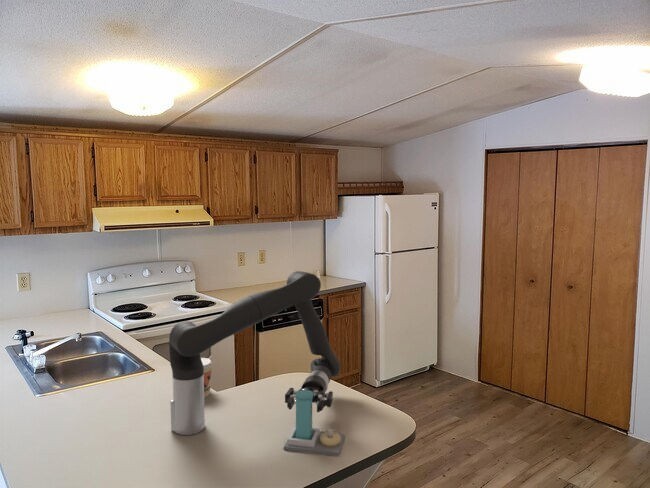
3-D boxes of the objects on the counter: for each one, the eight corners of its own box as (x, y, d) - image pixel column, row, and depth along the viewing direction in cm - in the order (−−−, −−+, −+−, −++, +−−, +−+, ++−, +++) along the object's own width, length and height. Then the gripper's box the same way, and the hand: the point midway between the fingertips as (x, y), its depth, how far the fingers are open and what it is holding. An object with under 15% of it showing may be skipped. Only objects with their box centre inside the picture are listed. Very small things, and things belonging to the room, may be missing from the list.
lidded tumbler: (293, 442, 145) (293, 396, 143) (297, 433, 150) (297, 389, 148) (310, 444, 144) (311, 397, 142) (314, 435, 149) (314, 390, 147)
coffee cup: (193, 402, 173) (192, 368, 171) (181, 393, 180) (180, 361, 178) (217, 394, 179) (216, 362, 177) (204, 386, 186) (204, 355, 184)
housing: (283, 449, 142) (284, 435, 142) (293, 431, 153) (293, 417, 153) (339, 456, 140) (339, 441, 139) (345, 436, 150) (345, 422, 150)
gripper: (294, 372, 162) (280, 393, 146) (337, 376, 159) (327, 397, 144) (294, 394, 163) (280, 417, 147) (337, 398, 160) (327, 422, 145)
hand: (303, 407), depth 145 cm, fingers open, 8 cm apart
